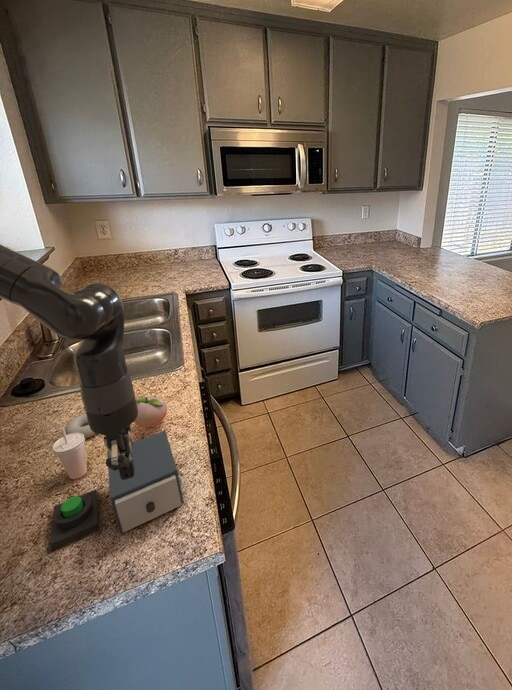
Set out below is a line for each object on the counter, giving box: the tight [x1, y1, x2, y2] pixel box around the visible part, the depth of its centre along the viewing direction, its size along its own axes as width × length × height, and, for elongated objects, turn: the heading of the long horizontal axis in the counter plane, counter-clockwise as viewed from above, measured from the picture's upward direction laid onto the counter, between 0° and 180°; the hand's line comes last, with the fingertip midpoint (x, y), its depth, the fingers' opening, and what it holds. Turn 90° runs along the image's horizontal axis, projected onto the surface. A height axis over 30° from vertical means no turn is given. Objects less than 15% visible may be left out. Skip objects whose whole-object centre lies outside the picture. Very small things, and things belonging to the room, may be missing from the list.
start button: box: [61, 495, 83, 517], centre depth 75 cm, size 4×4×2 cm
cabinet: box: [106, 430, 184, 534], centre depth 81 cm, size 15×13×10 cm
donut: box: [65, 412, 97, 439], centre depth 103 cm, size 10×4×10 cm
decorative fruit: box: [133, 396, 168, 428], centre depth 102 cm, size 9×8×10 cm
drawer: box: [115, 475, 182, 533], centre depth 79 cm, size 15×11×8 cm
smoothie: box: [51, 427, 88, 480], centre depth 86 cm, size 6×6×14 cm
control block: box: [49, 489, 100, 551], centre depth 76 cm, size 10×8×4 cm
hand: (128, 475), depth 67 cm, fingers closed
